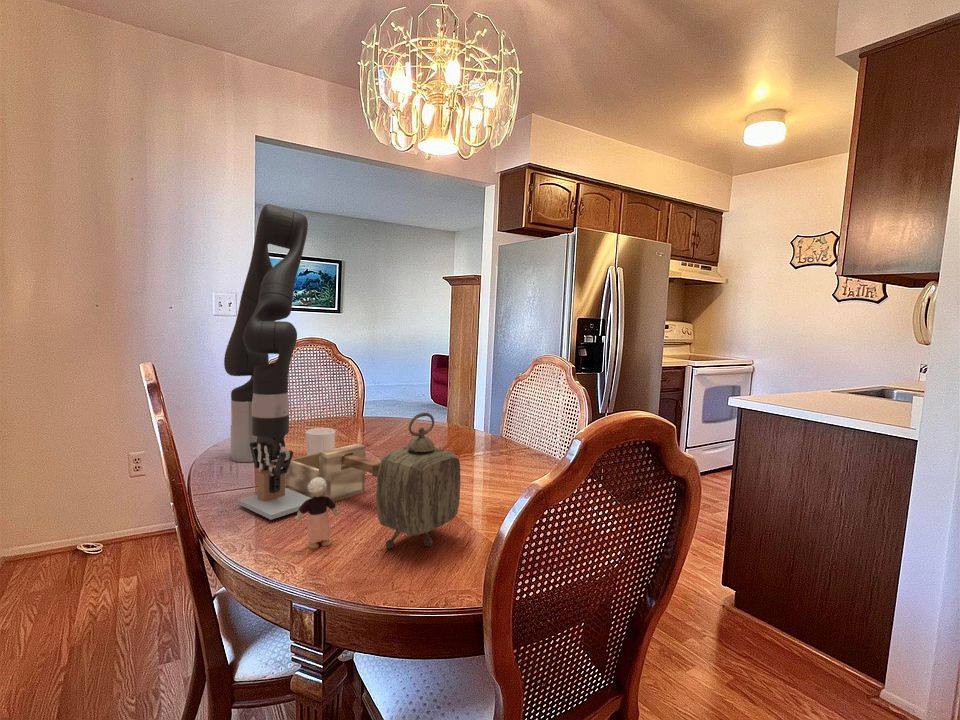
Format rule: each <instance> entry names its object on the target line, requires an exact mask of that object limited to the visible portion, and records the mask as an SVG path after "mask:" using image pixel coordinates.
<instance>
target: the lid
mask: <svg viewBox="0 0 960 720" xmlns="http://www.w3.org/2000/svg"><path fill="white" fill-rule="evenodd" d="M274 470H275V467H274ZM269 476H270V475H269V469H268V470H264V471H257V494H253V495H250V496H247V497H243V498H239V499H237V504H238V505H239V506H241V507H244V508H245V509H247V510H250V511H252V512H254V513H256V514H258V515H260V516H262V517H264V518H266V519H269V520H274V519H277V518H281V517H284V516H286V515H289V514H293V513H297V512H298V511H299V510H298V509H299V508H300V507H301V505H302V504H303V503H304V502H305V501H306V500H308V499H311V498H310V497H308V496H305V495H303V494H300V493H298V492H295V491H293V490H290V489H288V488H286V473H285V474H281V476H280V491H279V492H275V493H271V492H269Z"/></svg>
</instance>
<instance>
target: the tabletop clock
mask: <svg viewBox="0 0 960 720" xmlns="http://www.w3.org/2000/svg"><path fill="white" fill-rule="evenodd" d="M423 417H428V418H430V420H431V425H430V427H428V429H426V430H425V428H424V427H420V428H418V432H414V431H413V430H412V426H413V423H414V422H415V421H416V420H417V419H419V418H423ZM434 426H435V419H434V416H433V415H432V414H431V413H429V412H421V413H418V414H416V415H414V416H413V417H412V418H411V419H410V421H409V423H408V431H409V433H410V435H412V436H414V437H413V438H412V439H411V440H410V441H409V443H408V444H407V446H403V447H400V448H398V449H395V450H393V451H390V452H388V453H387V454H385V455H384V456H383V457H382V458H381V459H380V462H379V463H380V466H379V470H378V476H377V480H376V492H375V495H376V513H377V518H378V522H379V524H380V525H381V526H384V527H387V528H389V529H393V530H395V532H394V533H393V536H392V537H391V539H387V540H386V541H385V542H384V543H385V547H386V549H389V550H390V549H393V547H394V546H395V540H396V539H397V537H398V536H399V535H400V534H401V533H403V534H406V535H409V536H419V535H422V534H424V535H425V538H424V540H423V543H424V546H426V547H431V546H432V545H433V542H434V541H433V539H432V537H430V534H429V532H430V531H433V530H435V529H438V528H440V527H442V526H443V525H446V524H447V523H449V522H451V520H453V519H454V518H455V517H456V516H457V515H458V511H459V508H460V507H459V506H460V496H461V495H460V494H461V464H460V459H459V458H458V456H457V455H456V454H455V453H454V452H453V451H450V450H445V449H441V448H436V446H435V444H434V441H432V440H431V439H430V437H427V436H425V435H427V434H428V433H430V432H431V431H432V430H433V428H434Z"/></svg>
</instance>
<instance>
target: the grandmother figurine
mask: <svg viewBox="0 0 960 720" xmlns="http://www.w3.org/2000/svg"><path fill="white" fill-rule="evenodd" d="M326 487H327V485H326V481H325V480H324V479H323V478H320V477H319V478H318V477H317V478H314V479H313V480H311V482H310V483H309V485H308V491H309V492H310V493H311V495H312V496H314V498H311V499H308V500H306V501H305V502H304V503H303V504H302V505H301V507H300V508H299V509H298V510H299V511H297V512H296V513H297V515H296V516H295V517H294V518H295V521H298V522H299V521H301V520H302V517H303V515H305V514H306V513H308V516H307V535H308V536H307V538H308V541H307V543H306V546H307V547H308V548H309V549H317V548H319V546H320V545H321V546H322V547H326V546H330V545H331V543H332V538H331V536H330V532H331V531H330V519H329V514H328V508H329V509H330V510H331V512H332V514H333V516H335V517H338V516H339V514H340V511H339V510H338V507H337V505H336V502H333V501H332V500H331V499H330V498H329V497H326V496H322V495H323V494H324V492H325V490H326ZM319 542H320V545H319Z"/></svg>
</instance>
